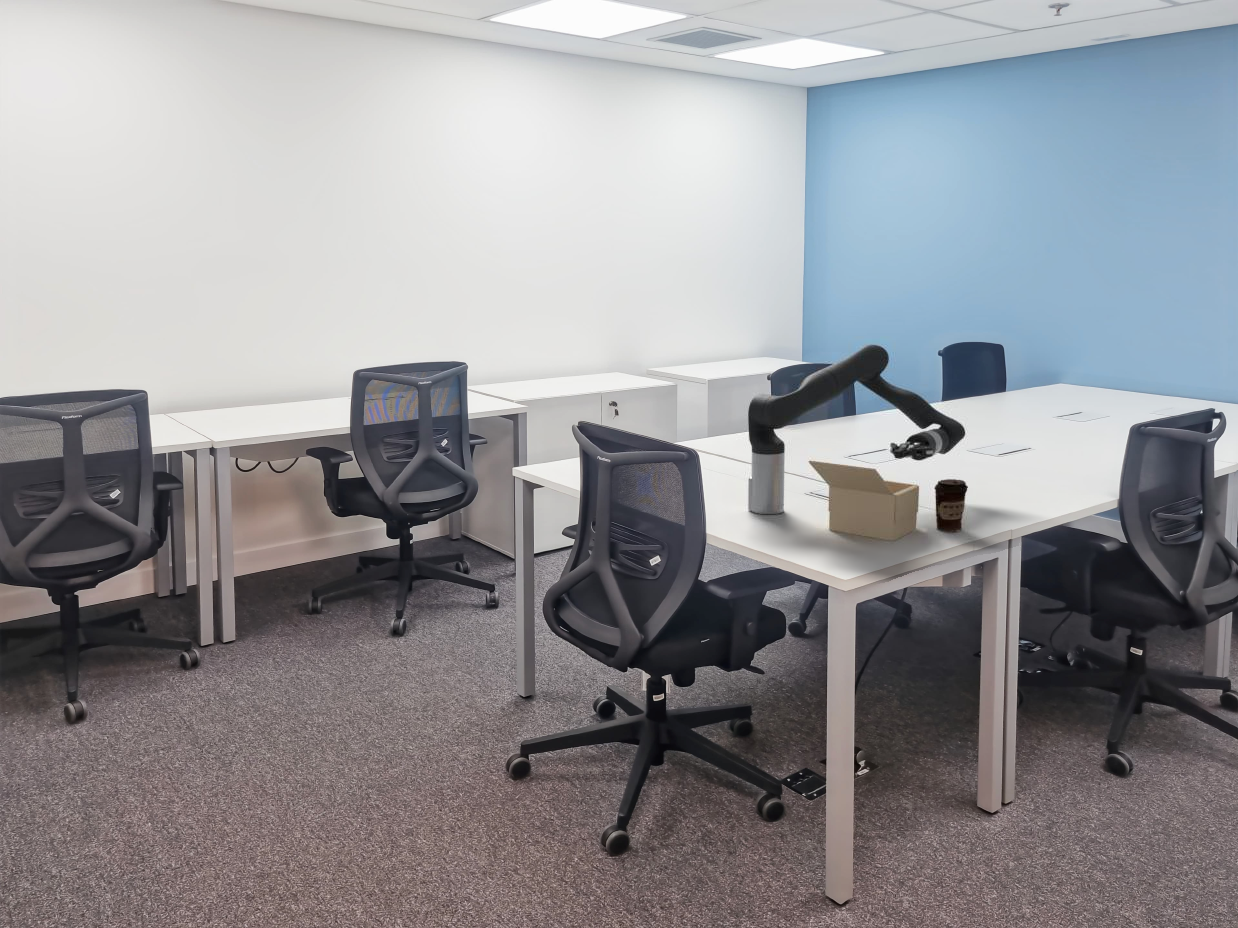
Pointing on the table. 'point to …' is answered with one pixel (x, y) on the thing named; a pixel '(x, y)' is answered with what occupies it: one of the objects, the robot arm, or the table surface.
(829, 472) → the lid flap
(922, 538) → the table surface
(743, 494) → the table surface
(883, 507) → the carton
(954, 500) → the coffee cup
